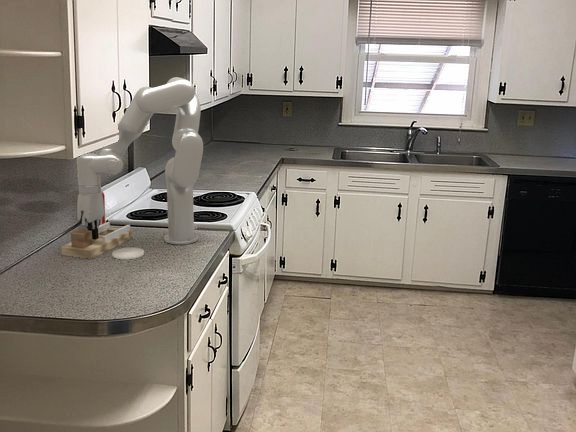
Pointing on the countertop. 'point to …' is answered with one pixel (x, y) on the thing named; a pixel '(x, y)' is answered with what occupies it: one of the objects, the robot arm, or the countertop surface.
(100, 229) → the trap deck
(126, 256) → the cream plate
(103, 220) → the beverage can
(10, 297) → the countertop surface
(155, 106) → the robot arm
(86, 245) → the walnut block
